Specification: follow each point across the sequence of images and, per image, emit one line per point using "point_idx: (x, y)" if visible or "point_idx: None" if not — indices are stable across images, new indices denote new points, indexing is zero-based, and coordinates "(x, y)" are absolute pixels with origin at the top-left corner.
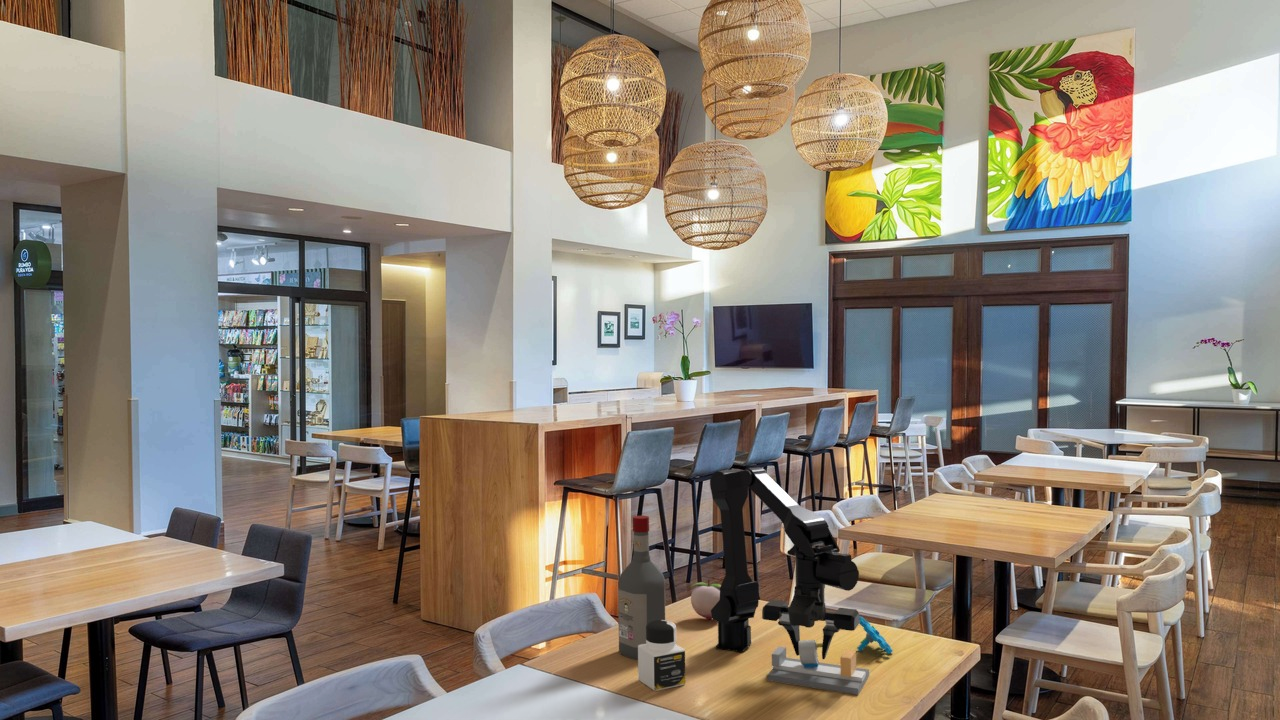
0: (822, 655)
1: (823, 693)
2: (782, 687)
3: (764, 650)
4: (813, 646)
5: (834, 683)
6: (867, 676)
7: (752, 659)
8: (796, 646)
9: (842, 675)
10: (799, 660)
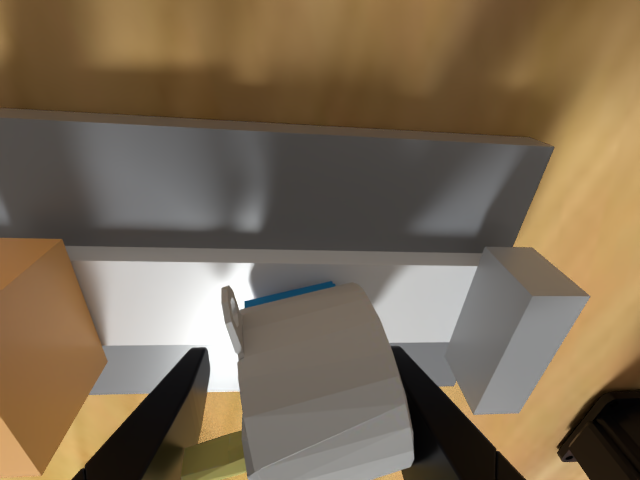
0: (194, 366)
1: (141, 41)
2: (435, 52)
3: (512, 428)
4: (252, 418)
5: (81, 149)
6: None
7: (570, 353)
8: (420, 399)
9: (45, 240)
10: None
